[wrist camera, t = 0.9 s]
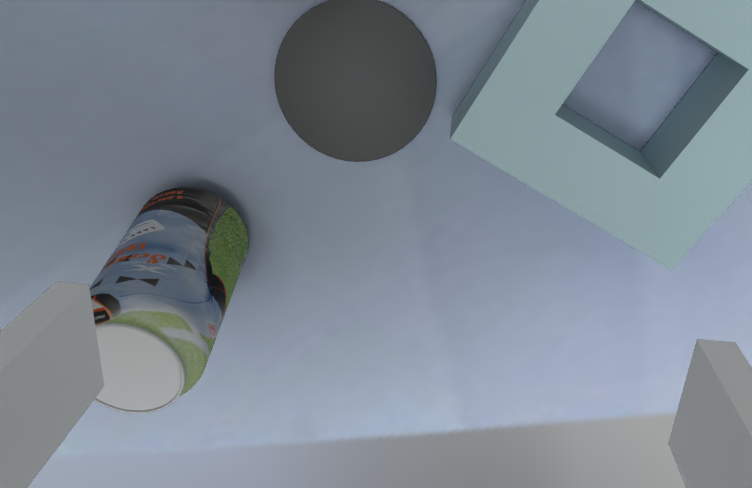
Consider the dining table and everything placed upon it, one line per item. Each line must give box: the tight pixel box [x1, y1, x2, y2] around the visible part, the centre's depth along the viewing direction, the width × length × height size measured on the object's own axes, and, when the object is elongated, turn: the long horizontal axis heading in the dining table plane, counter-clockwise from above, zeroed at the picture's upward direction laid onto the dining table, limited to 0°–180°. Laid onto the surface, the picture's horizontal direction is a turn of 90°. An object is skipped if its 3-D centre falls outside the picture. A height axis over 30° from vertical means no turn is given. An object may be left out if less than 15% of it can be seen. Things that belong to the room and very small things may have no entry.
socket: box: [450, 0, 752, 271], centre depth 31 cm, size 12×12×4 cm
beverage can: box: [90, 188, 248, 413], centre depth 34 cm, size 6×7×12 cm
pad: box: [275, 0, 436, 162], centre depth 35 cm, size 8×8×1 cm
